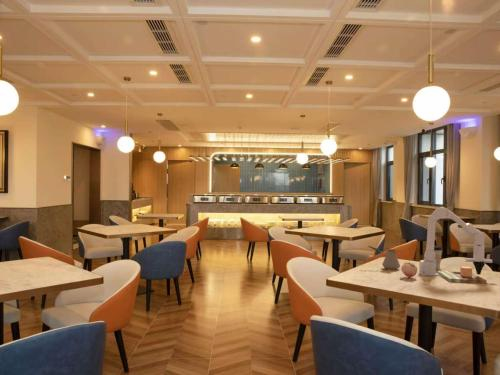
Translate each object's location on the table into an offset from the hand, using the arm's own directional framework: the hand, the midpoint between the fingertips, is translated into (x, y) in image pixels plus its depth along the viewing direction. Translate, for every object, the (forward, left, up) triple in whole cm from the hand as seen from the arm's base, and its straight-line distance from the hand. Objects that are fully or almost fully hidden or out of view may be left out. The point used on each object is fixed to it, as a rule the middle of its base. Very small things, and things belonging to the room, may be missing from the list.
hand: (478, 274), depth 242 cm
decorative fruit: (-41, -5, -3) cm, 42 cm away
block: (-7, 0, -1) cm, 7 cm away
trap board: (-10, 0, -3) cm, 11 cm away
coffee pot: (-52, +22, -3) cm, 57 cm away
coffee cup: (-16, +32, -3) cm, 36 cm away
